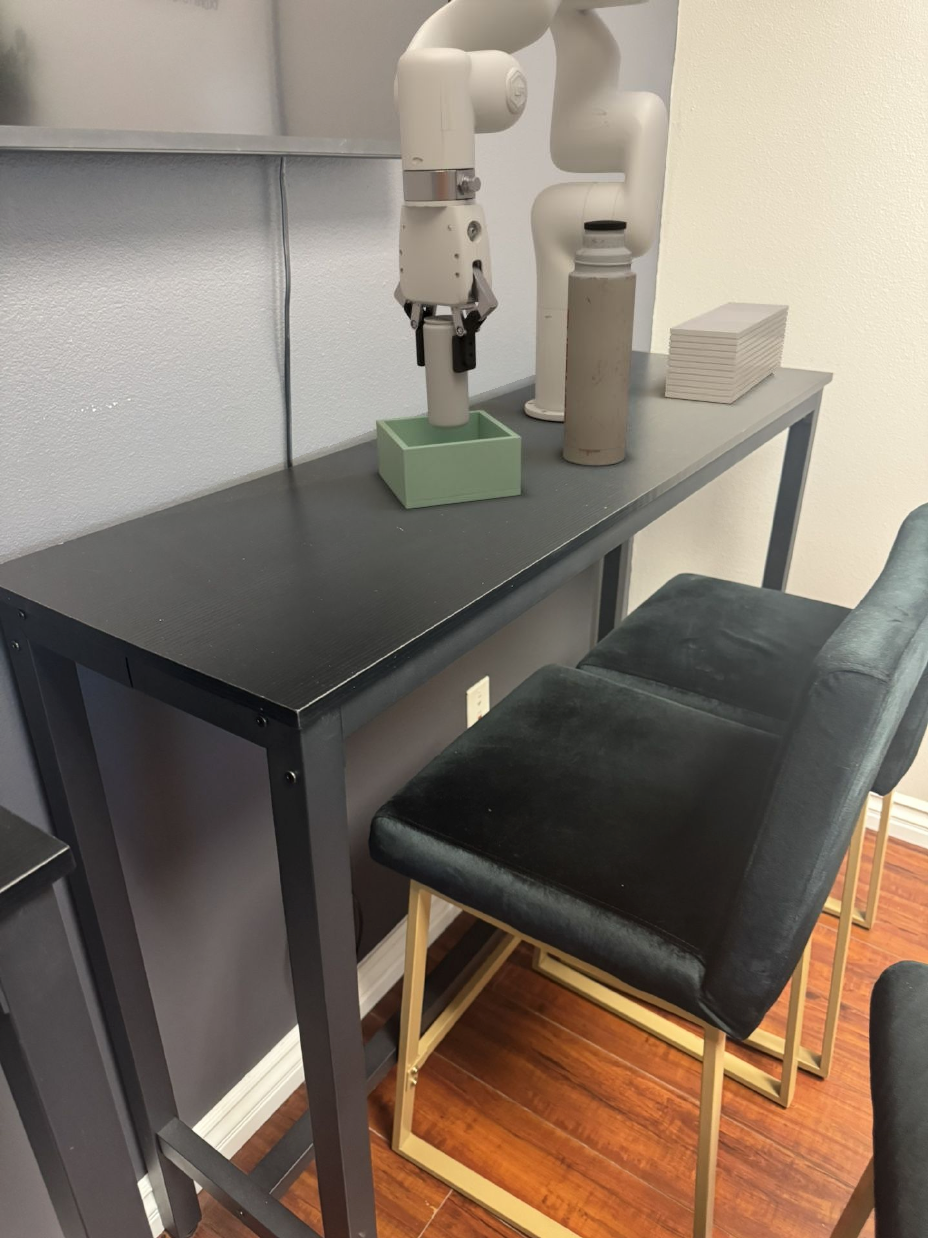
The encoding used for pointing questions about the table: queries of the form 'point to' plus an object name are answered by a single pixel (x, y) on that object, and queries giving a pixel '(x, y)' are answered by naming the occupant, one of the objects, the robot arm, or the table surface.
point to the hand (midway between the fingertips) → (446, 365)
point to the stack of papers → (725, 351)
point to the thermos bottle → (599, 346)
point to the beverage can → (444, 376)
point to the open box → (448, 460)
